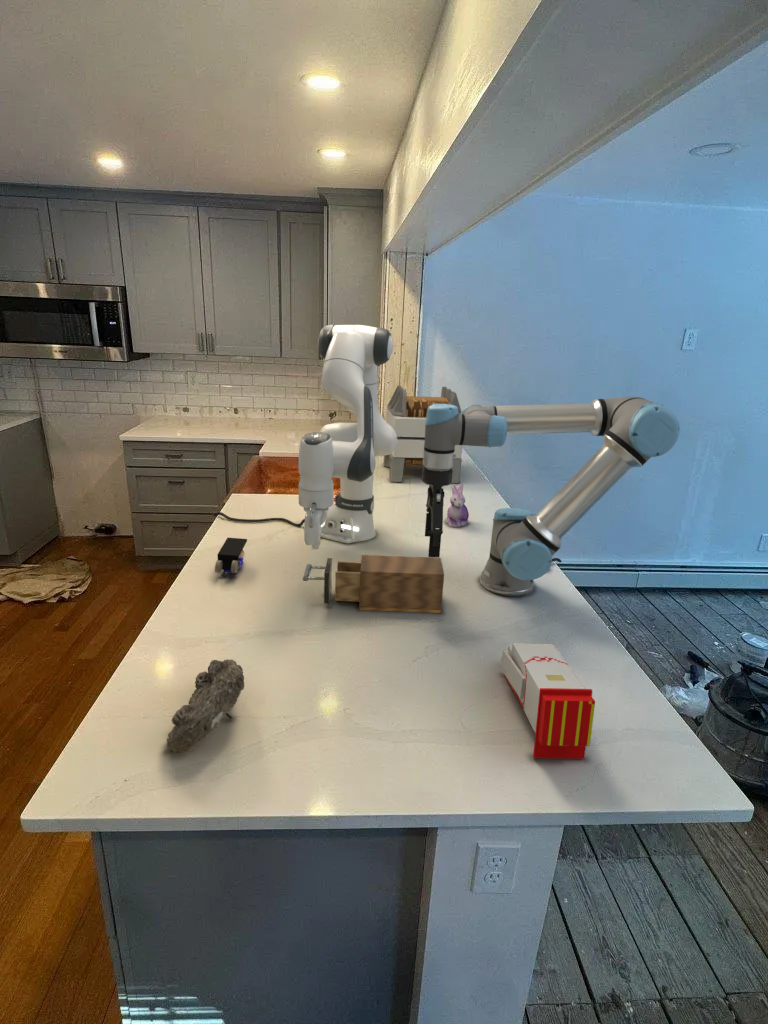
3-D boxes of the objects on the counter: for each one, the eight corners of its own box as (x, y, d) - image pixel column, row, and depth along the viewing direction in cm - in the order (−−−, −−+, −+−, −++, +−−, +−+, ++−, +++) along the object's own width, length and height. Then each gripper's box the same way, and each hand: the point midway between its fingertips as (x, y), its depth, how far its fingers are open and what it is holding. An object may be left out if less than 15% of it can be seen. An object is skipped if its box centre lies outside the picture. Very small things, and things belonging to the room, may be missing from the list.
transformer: (382, 463, 289) (386, 382, 275) (445, 464, 293) (451, 384, 279) (390, 482, 257) (394, 392, 243) (460, 483, 261) (468, 394, 247)
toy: (549, 626, 126) (605, 697, 97) (544, 681, 129) (596, 766, 100) (495, 625, 126) (534, 696, 96) (491, 680, 128) (528, 765, 99)
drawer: (302, 603, 149) (302, 571, 146) (306, 586, 157) (306, 557, 154) (400, 606, 149) (402, 575, 146) (399, 590, 158) (401, 560, 155)
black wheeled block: (238, 584, 162) (249, 557, 175) (236, 562, 158) (247, 536, 172) (215, 584, 161) (227, 556, 175) (212, 561, 158) (225, 535, 171)
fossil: (192, 660, 117) (244, 628, 112) (224, 691, 120) (276, 661, 115) (142, 746, 98) (202, 712, 93) (182, 779, 101) (242, 748, 96)
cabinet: (359, 609, 149) (360, 571, 145) (360, 591, 158) (361, 554, 155) (440, 612, 149) (444, 574, 145) (437, 594, 159) (440, 557, 155)
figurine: (454, 529, 206) (457, 490, 201) (439, 520, 214) (442, 482, 209) (475, 526, 210) (479, 487, 205) (459, 517, 218) (463, 479, 213)
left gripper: (324, 511, 134) (324, 564, 139) (332, 486, 153) (331, 533, 158) (297, 510, 134) (298, 563, 138) (308, 485, 153) (308, 532, 158)
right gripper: (459, 482, 129) (451, 567, 136) (447, 455, 153) (441, 528, 160) (426, 481, 129) (420, 565, 136) (419, 454, 153) (415, 527, 160)
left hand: (316, 547), depth 148 cm, fingers closed
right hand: (431, 546), depth 148 cm, fingers open, 13 cm apart
